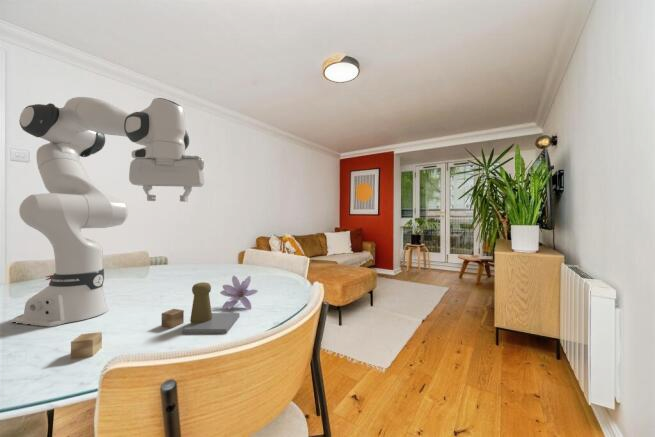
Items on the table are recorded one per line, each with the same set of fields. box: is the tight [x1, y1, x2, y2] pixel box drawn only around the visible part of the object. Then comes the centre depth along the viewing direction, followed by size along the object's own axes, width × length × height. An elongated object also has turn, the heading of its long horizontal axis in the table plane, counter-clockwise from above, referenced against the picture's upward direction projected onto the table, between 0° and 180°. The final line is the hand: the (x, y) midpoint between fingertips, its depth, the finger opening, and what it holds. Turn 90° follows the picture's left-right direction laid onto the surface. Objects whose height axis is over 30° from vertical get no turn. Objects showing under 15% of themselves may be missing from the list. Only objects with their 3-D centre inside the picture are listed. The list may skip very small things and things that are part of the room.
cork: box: [189, 281, 213, 323], centre depth 78 cm, size 6×6×11 cm
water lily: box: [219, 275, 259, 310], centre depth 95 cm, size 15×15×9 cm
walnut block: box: [161, 308, 185, 329], centre depth 77 cm, size 4×4×4 cm
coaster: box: [182, 312, 240, 335], centre depth 77 cm, size 12×12×1 cm
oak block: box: [70, 331, 103, 360], centre depth 61 cm, size 4×4×4 cm
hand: (167, 201), depth 77 cm, fingers open, 8 cm apart
